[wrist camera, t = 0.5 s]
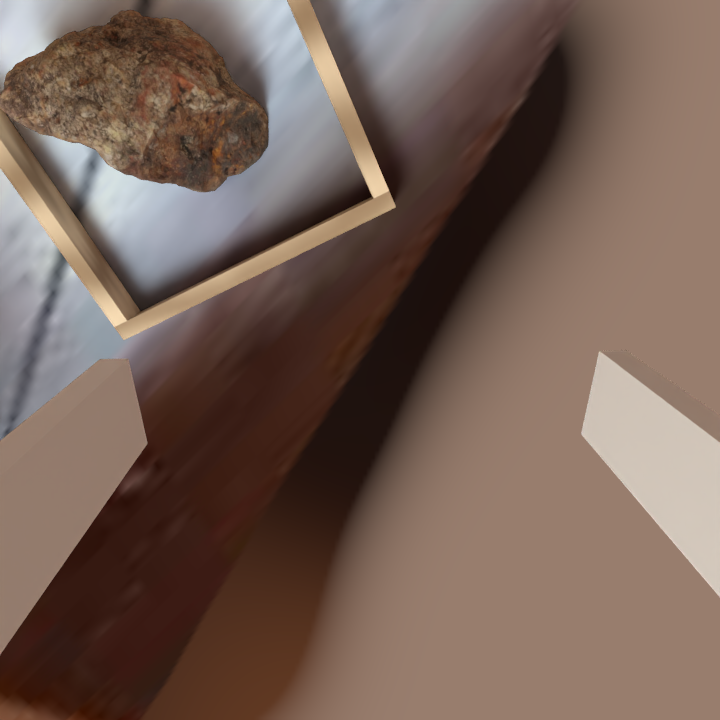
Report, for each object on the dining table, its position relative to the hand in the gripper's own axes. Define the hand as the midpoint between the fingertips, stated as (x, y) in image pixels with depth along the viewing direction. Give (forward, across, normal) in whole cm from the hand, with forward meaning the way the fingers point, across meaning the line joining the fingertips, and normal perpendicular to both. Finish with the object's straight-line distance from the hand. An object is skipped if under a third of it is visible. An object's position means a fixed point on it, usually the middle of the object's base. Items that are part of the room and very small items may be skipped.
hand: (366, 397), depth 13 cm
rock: (+26, -13, +10) cm, 31 cm away
